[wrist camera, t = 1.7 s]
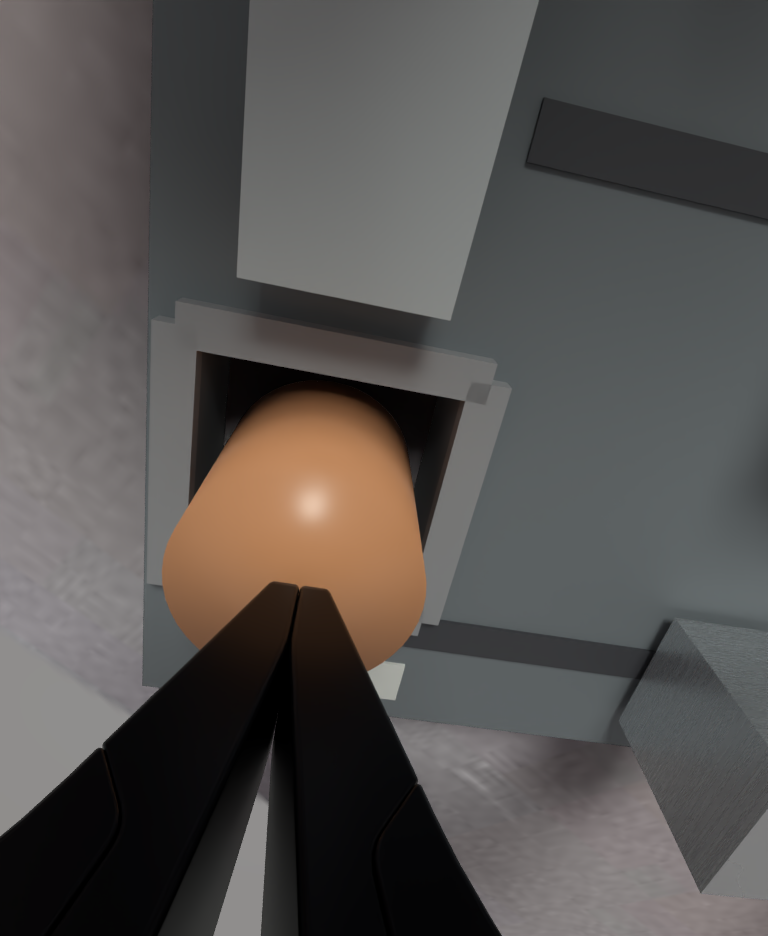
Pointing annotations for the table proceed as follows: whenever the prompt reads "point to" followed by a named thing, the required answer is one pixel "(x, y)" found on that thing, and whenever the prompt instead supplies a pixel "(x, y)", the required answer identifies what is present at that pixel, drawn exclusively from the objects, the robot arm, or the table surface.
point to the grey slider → (708, 750)
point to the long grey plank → (373, 143)
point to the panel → (514, 357)
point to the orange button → (305, 519)
